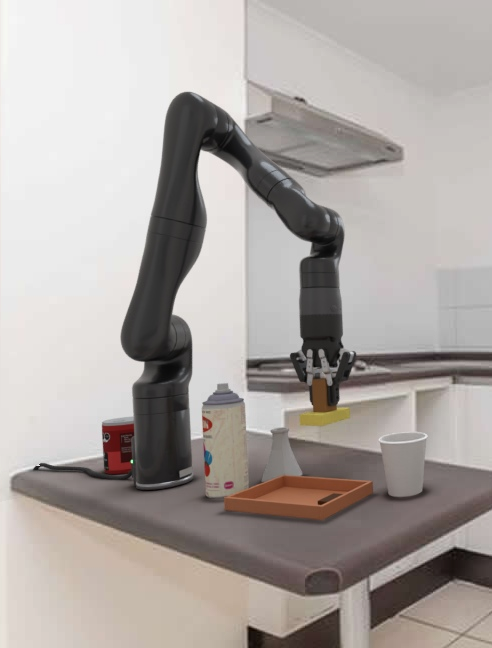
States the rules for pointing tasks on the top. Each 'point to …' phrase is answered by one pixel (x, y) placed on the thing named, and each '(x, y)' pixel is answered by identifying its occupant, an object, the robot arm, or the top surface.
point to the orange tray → (298, 496)
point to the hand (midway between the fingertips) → (324, 404)
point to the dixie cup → (404, 462)
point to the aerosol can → (224, 443)
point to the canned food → (117, 444)
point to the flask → (281, 457)
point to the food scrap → (328, 498)
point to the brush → (322, 407)
